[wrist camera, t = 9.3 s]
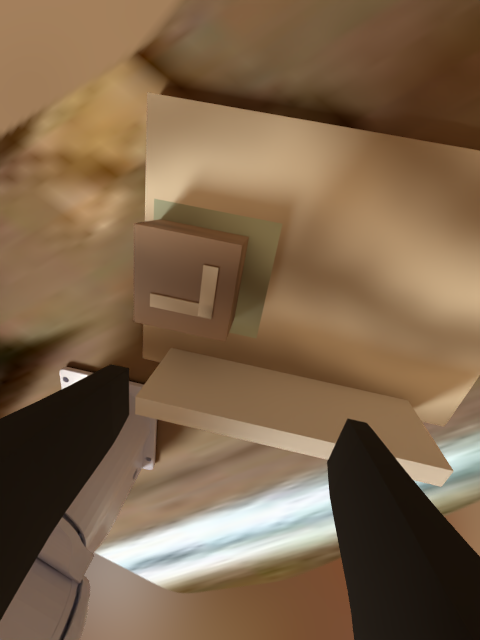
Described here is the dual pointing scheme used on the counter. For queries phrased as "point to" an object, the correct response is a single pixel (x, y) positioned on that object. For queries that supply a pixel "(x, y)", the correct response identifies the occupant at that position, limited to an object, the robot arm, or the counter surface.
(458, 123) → the counter surface
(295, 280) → the birch board
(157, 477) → the counter surface
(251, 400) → the beige rectangular slab
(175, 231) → the walnut block
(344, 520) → the robot arm
